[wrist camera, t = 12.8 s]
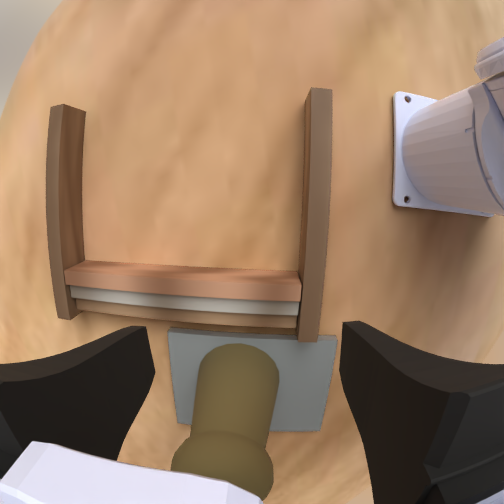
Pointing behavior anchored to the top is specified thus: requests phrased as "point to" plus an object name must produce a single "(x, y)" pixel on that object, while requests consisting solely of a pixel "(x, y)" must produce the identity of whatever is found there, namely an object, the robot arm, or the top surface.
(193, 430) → the olive brown pear shape
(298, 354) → the slate tile
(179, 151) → the top surface
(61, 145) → the offcut rack
